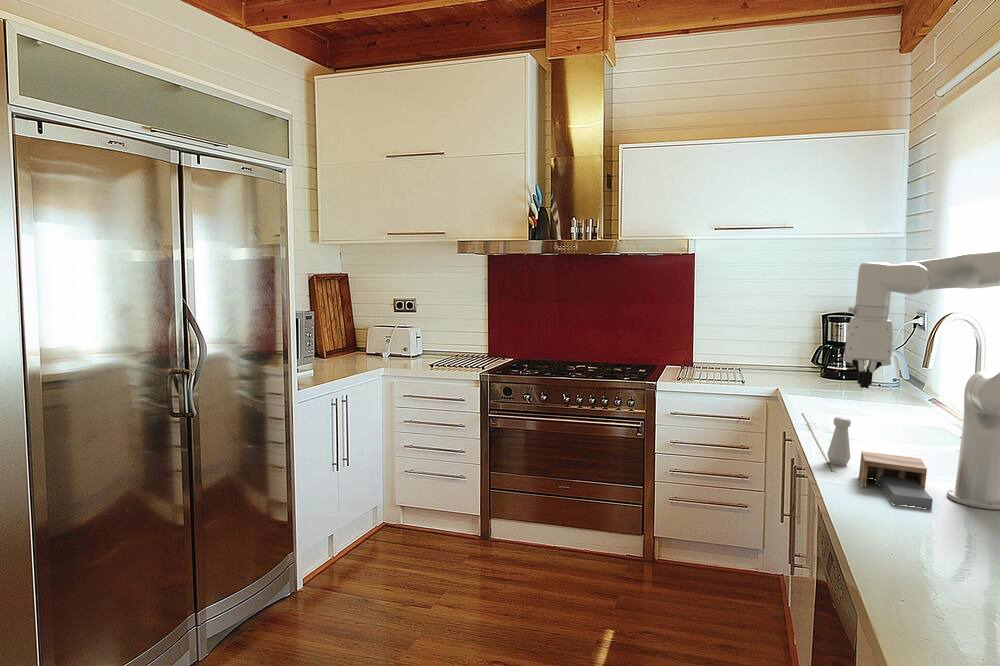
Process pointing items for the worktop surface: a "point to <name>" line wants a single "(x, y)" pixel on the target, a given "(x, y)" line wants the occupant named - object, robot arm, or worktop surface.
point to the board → (905, 492)
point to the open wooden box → (891, 467)
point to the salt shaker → (840, 442)
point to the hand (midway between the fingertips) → (864, 387)
